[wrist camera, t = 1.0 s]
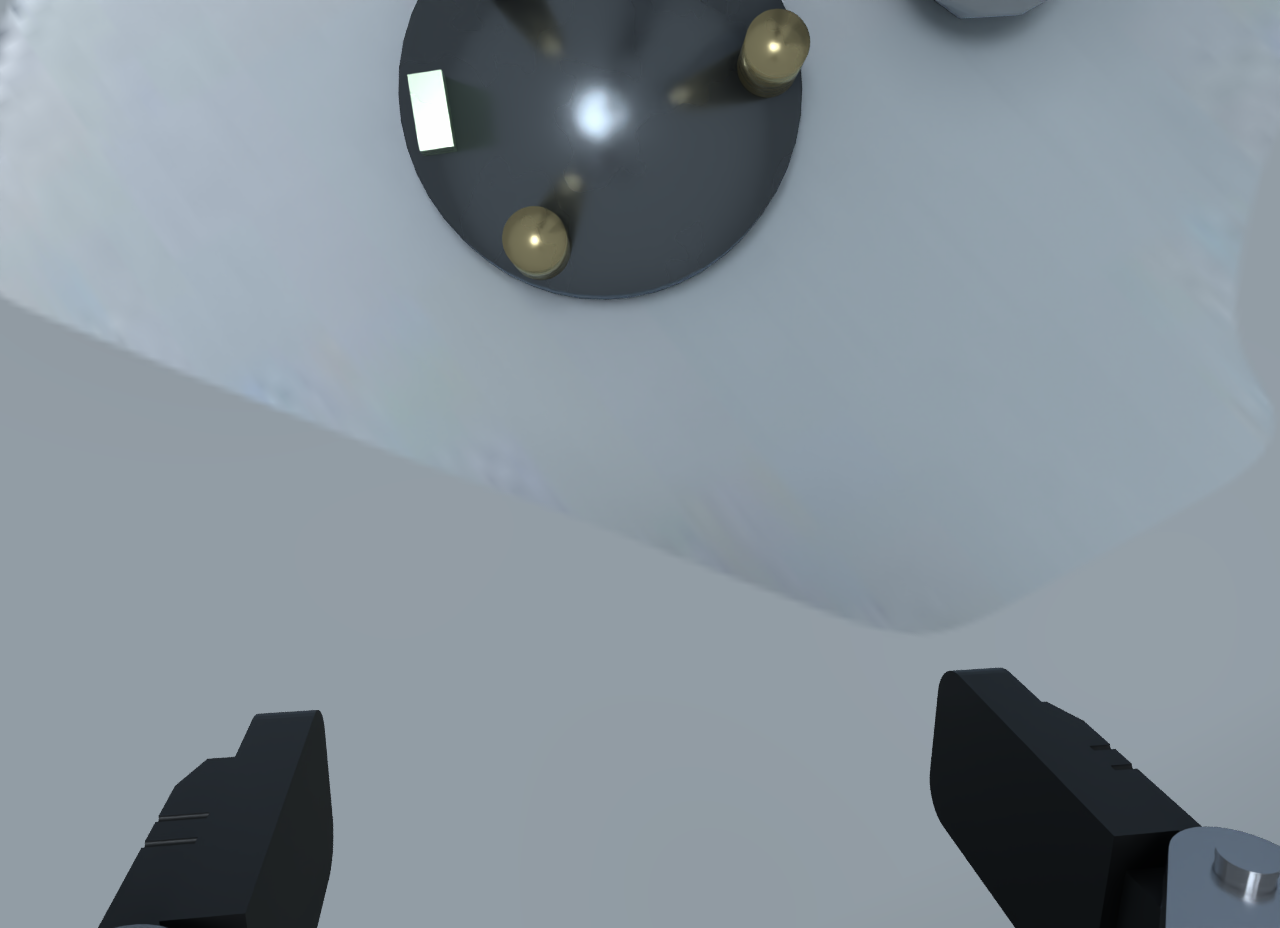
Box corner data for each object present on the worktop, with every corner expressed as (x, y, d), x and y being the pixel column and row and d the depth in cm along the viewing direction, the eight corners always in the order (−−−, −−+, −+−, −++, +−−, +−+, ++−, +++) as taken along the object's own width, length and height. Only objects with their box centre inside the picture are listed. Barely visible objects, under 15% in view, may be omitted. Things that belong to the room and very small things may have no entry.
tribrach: (377, -66, 29) (347, -123, 26) (766, -123, 30) (783, -187, 26) (441, 325, 30) (419, 316, 27) (819, 269, 30) (842, 253, 27)
